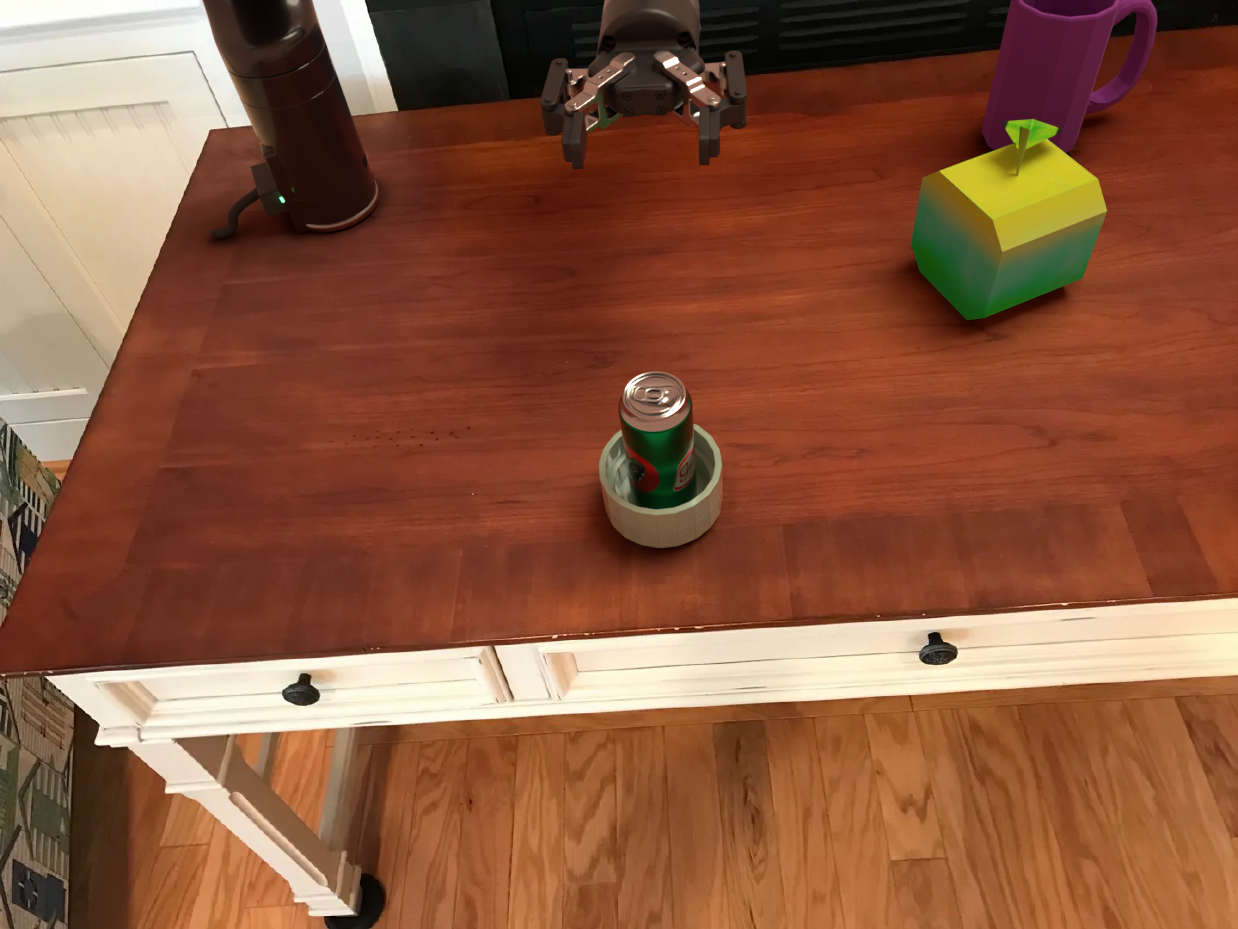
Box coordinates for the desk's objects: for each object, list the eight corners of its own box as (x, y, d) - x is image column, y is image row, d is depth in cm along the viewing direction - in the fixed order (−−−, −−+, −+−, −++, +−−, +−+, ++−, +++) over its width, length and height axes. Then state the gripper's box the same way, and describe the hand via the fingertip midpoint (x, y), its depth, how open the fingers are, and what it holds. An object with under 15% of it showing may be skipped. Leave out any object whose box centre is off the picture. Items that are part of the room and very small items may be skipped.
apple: (1076, 294, 85) (1131, 145, 73) (979, 333, 83) (1020, 187, 72) (999, 224, 91) (1038, 76, 80) (907, 259, 90) (933, 114, 78)
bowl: (632, 569, 73) (626, 532, 69) (589, 480, 78) (581, 441, 74) (742, 525, 74) (742, 487, 70) (693, 441, 79) (690, 401, 75)
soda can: (692, 527, 74) (685, 426, 64) (626, 520, 75) (610, 419, 65) (701, 473, 77) (696, 369, 67) (637, 468, 78) (624, 363, 68)
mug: (963, 124, 101) (993, -20, 89) (1098, 87, 103) (1146, -60, 91) (1010, 175, 96) (1049, 28, 84) (1153, 135, 97) (1211, -15, 85)
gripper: (551, -17, 73) (525, 110, 63) (745, -27, 71) (749, 101, 61) (564, 76, 79) (542, 205, 69) (743, 69, 77) (747, 199, 67)
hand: (640, 156), depth 65 cm, fingers open, 8 cm apart
